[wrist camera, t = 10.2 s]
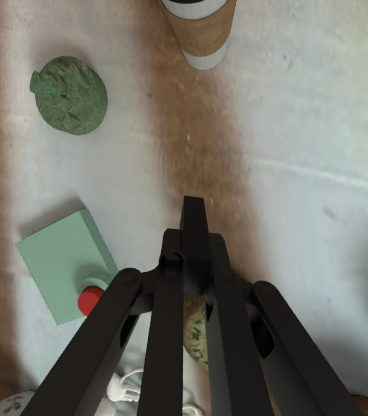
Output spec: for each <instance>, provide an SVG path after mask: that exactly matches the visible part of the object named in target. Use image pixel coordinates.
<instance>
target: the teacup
mask: <svg viewBox="0 0 368 416" xmlns="http://www.w3.org/2000/svg"><path fill="white" fill-rule="evenodd" d="M34 394H35V392H34V391H26V392H24V393H18V394H14V395H12V396H9V397H7V398H5V399H3V400H1V401H0V416H20V414H21V413H22V411H23V410H24V408H25V407H26V405H27V404H28V402H29V401H30V400H31V398H32V397H33V395H34Z"/></svg>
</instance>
